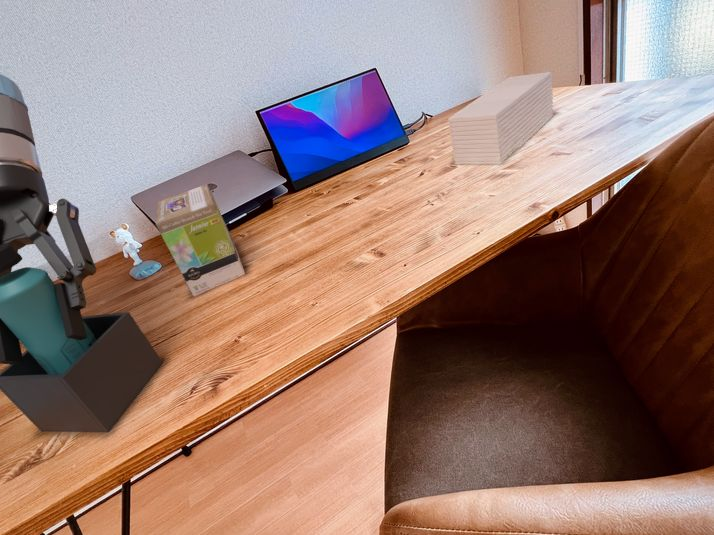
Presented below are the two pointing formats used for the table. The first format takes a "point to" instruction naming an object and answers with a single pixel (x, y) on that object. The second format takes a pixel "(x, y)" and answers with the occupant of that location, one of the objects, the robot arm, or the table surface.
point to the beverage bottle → (37, 315)
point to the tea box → (198, 239)
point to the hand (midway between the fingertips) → (44, 349)
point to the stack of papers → (501, 119)
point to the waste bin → (86, 379)
